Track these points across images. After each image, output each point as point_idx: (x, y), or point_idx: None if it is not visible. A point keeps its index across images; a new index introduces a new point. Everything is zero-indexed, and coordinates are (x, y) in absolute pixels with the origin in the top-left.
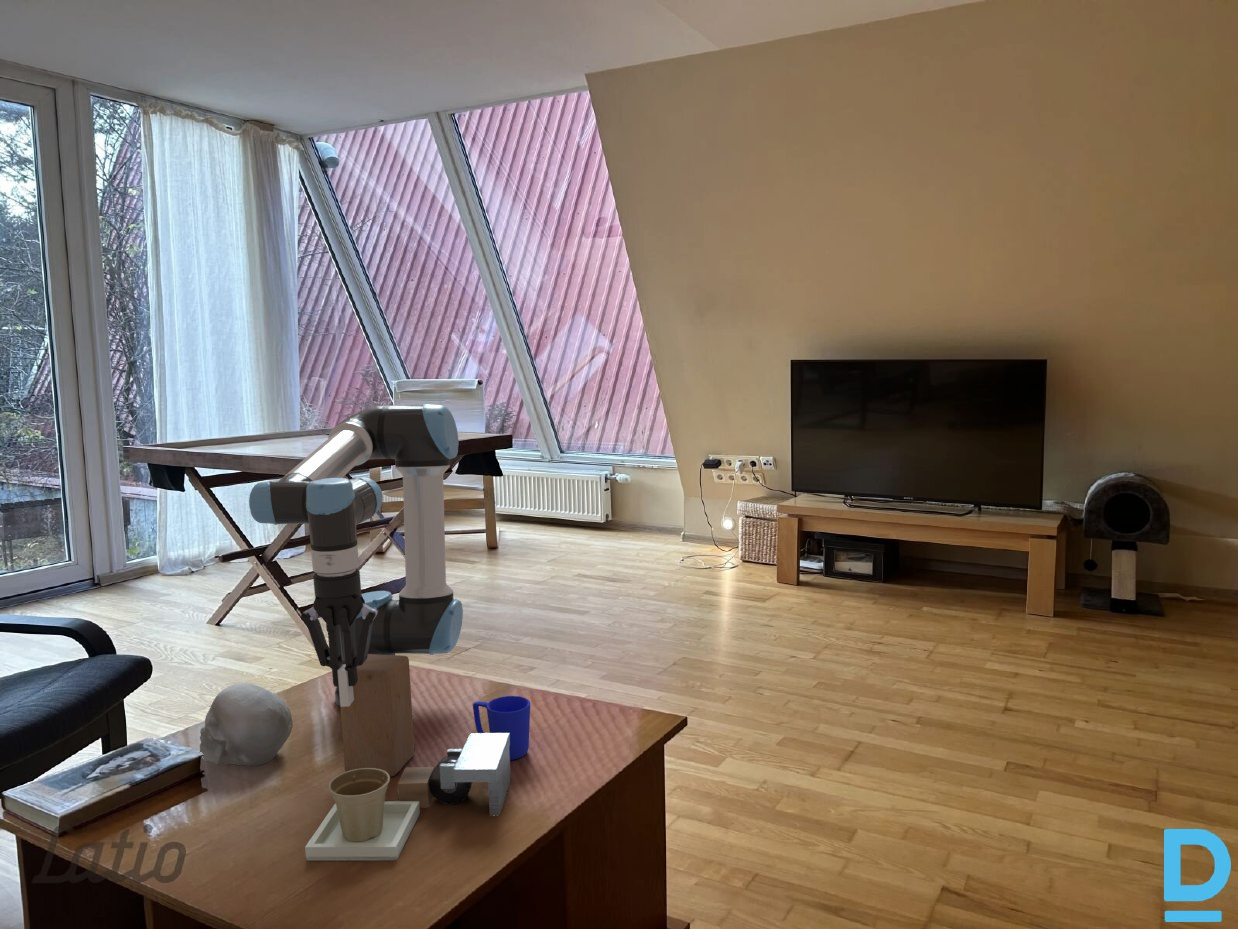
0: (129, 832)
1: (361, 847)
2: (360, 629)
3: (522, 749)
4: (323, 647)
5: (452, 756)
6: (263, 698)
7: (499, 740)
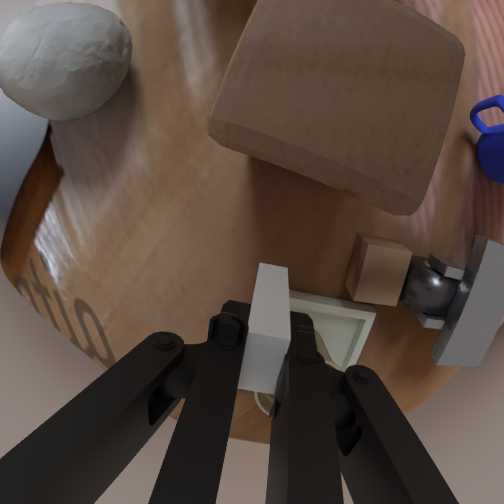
0: (34, 265)
1: None
2: None
3: None
4: (139, 439)
5: (447, 284)
6: (51, 57)
7: None
